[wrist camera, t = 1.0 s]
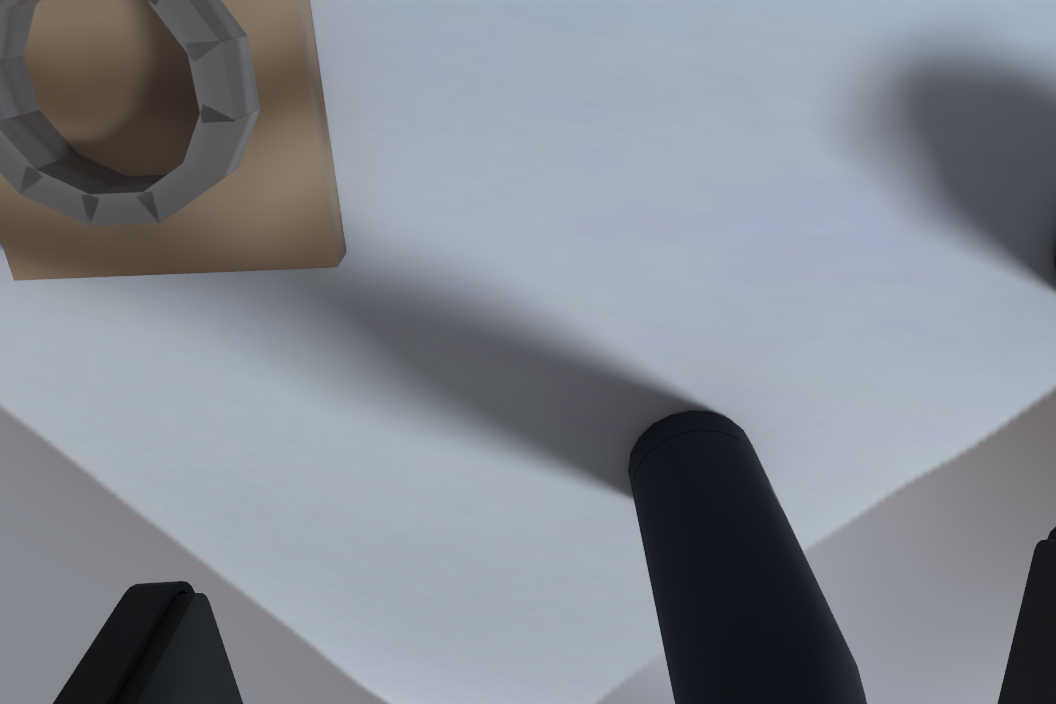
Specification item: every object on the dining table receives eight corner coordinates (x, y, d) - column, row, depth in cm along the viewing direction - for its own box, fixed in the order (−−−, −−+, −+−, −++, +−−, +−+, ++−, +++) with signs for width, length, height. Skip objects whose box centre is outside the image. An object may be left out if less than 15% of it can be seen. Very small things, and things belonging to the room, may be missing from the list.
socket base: (-91, -147, 30) (-203, -169, 25) (285, -166, 29) (240, -192, 25) (39, 265, 36) (-30, 306, 32) (346, 252, 36) (320, 292, 32)
